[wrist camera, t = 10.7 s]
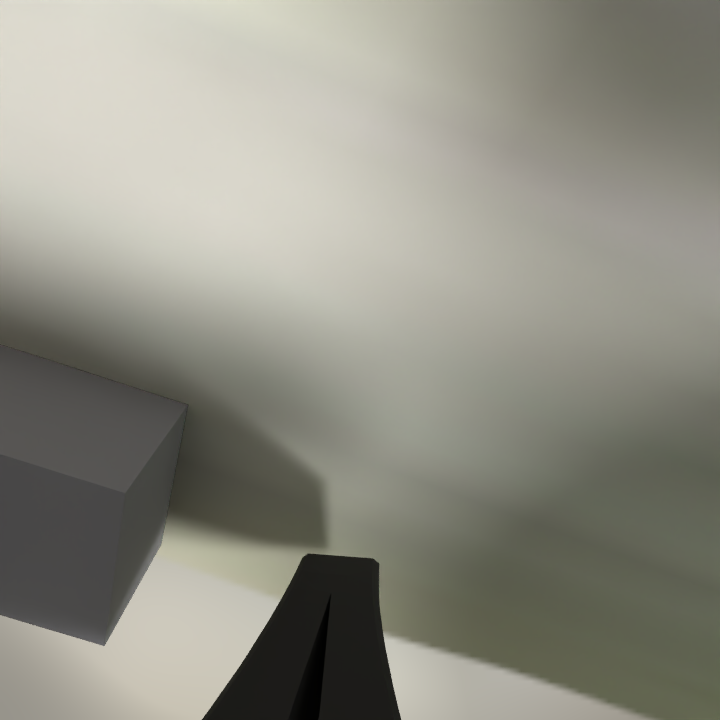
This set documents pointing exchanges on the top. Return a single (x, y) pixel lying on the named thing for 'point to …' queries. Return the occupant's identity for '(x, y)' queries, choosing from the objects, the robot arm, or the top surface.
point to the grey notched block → (79, 492)
